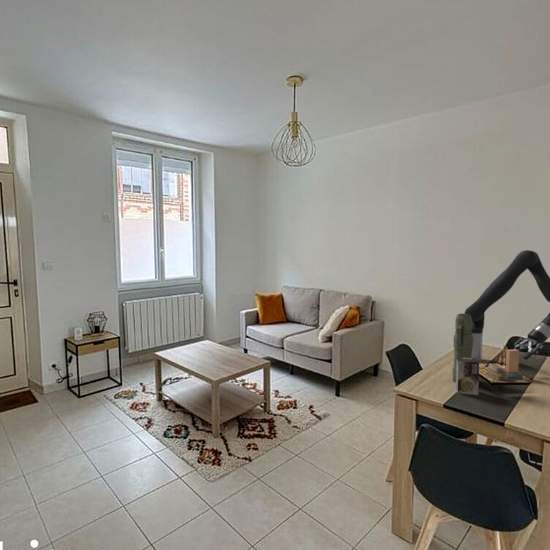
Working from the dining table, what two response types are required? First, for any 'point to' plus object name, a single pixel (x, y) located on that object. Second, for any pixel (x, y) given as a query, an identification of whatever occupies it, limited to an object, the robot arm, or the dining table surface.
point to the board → (512, 360)
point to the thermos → (462, 339)
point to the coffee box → (467, 375)
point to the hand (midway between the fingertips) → (518, 356)
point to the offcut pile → (497, 371)
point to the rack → (512, 377)
